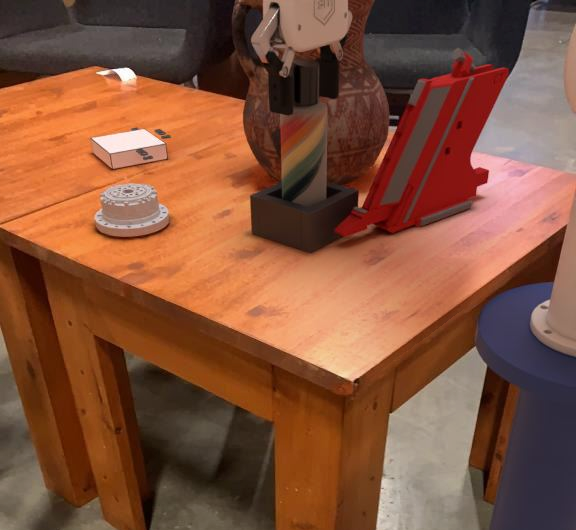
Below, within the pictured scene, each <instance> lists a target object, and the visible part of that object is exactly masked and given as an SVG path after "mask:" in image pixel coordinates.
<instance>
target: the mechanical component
mask: <svg viewBox="0 0 576 530" xmlns="http://www.w3.org/2000/svg"><path fill="white" fill-rule="evenodd" d="M99 196H100V197H99V199H100V205H101V208H100V209H99V210H98V211H97V212H95V215H94V217H93V219H94V224H95V227H96V230H97V231H99V232H100V233H102V234H105V235H107V236H112V237H122V238H126V237H140V236H145V235H150V234H152V233H155V232H158V231H160V230H162V229H164V228H165V227H167V225H168V224H170V213H169V209H168V208H167V206H166V205H164V204H162V203H159V199H158V191H157V190H156V189H155V187H154V186H153V185H150V184H146V183H133V182H129V183H125V184H115V185H114V186H113V185H111V186H109V188H104V191H103V192H101V193H99Z"/></svg>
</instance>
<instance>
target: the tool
mask: <svg viewBox="0 0 576 530" xmlns="http://www.w3.org/2000/svg"><path fill="white" fill-rule="evenodd" d="M451 59H452V60H454V63H453V65H452V67H451V68H452V71H451V73H448V74H444V75H443V74H442V75H440V76H435V77H432V78H430V79H427V78H424V77H423V78H419V79H418V80H417V83H416V84H415V86H414V89H413V91H412V93H411V96H410V98H409V100H408V102H407V104H406V107H405V109H404V111H403V113H402V115H401V117H400V120H399V122H398V125H397V127H396V129H395V131H394V134H393V135H392V138H391V140H390V142H389V144H388V147H387V149H386V151H385V153H384V156H383V158H382V161H381V163H380V165H379V166H378V167H379V168H378V170H377V172H376V174H375V176H374V179H373V181H372V183H371V185H370V187H369V190H368V191H367V195H366V197H365V199H364V201H363V203H362V206H358V207H354V208H353V210H352V211H351V214H350V215H349V216H348V217H347V218H346V219H345V220H344V221H343V222H342V223H341V224H340V225H339V226H338V227H337V228H335V229H334V232H335V233H337V234H339V235H341V237H344V238H347V237H350V236H352V235H355V234H358V233H360V232H364V231H366V230H368V227H369V226H371V225H373V226H376V227H378V228H380V229H382V230H385V231H387V232H390V233H391V234H394V233H395V232H399V231H402V230H403V229H406V228H409V227H412V226H415V227H423V226H426V225H428V224H430V223H434V222H436V221H439V220H441V219H442V220H443V219H445V218H447V217H450V216H453V215H455V214H458V213H461V212H463V211H466V210H469V209H471V208H472V203H473V200H472V199H471V198H474V197H476V196H477V191H478V187H481V186H483V185H486V184H488V182H489V174H490V170H489V169H487V168H484V167H481V166H478V167H476V168H474V167H473V165H472V162H471V160H472V159H471V158H472V153H473V151H474V149H475V147H476V145H477V142H478V140H479V138H480V136H481V134H482V132H483V130H484V128H485V126H486V123H487V121H488V120H489V117H490V115H491V113H492V111H493V109H494V106H495V105H496V103H497V100H498V98H499V97H500V94H501V92H502V90H503V88H504V86H505V85H506V82H507V80H508V78H509V74H510V70H509V68H508V67H499V68H496V69H495V66H494V65H493V64H489V63H488V64H483V65H479V66H476V65H475V64H474V63H473V61H474V58H473V57H472V56H471V55H470V54H468V53H466V52H465V51H463V49H461V48H460V47H456V48H455V49H454V50H453V51H452V54H451Z"/></svg>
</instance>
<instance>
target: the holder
mask: <svg viewBox="0 0 576 530" xmlns="http://www.w3.org/2000/svg"><path fill="white" fill-rule="evenodd" d="M359 194H360V190H359V189H356V188H353V187H349V186H345V185H338V184H335V183H331V182H327V181H326V199H325V200H323V201H321V202H318V203H316V204H314V205H312V206H310V207H307V206H304V205H300V204H297V203H293V202H290V201H286V200H283V199H282V182H280V183H278V182H277V183H275V184H274V185H273V184H272V185H271V186H268V187H267V188H263V189H261V190H259V191H257V192H255V193H252V194H250V195H249V203H250V205H249V206H250V223H251V224H250V226H251V234H252V235H255V236H258V237H261V238H264V239H266V240H270V241H273V242H275V243H278V244H279V243H280V244H283V245H286V246H289V247H291V248H294V249H297V250H299V251H300V250H302V251H304V252H307V253H313V252H316V250H319V249H320V248H323V247H325V246H326V245H328V244H330V243H332V242H334V241H335V240H337V239H339V238H341V237H342V236H341V235H339V234H337V233H335V232H334V229H335V228H337V227H338V226H339V225H340V224H341V223H342V222H343V221H344V220H345V219H346V218H347V217H348V216H349V215H350V214H351V211H352V210H353V208H354V207H359Z"/></svg>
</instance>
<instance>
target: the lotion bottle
mask: <svg viewBox="0 0 576 530" xmlns="http://www.w3.org/2000/svg"><path fill="white" fill-rule="evenodd" d="M288 75H289V76H293V114H291V115H289V116H288V115H283V114H280V124H281V168H282V199H283V200H286V201H290V202H293V203H297V204H300V205H304V206H307V207H310V206H312V205H314V204H316V203H318V202H321V201H323V200H325V199H326V180H327V106H326V104H324V103H322V102H319V100H320V64H319V63H318V62H317V61H315V60H312V59H304V58H293V62H292V65H291V68H290V71H289V74H288Z"/></svg>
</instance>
